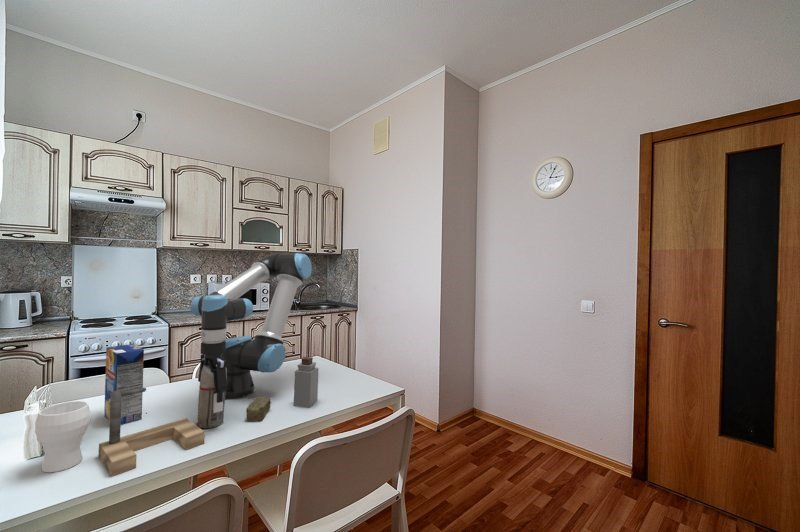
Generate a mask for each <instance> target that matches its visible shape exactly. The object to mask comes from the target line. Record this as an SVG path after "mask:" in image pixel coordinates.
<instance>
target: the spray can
mask: <svg viewBox="0 0 800 532" xmlns="http://www.w3.org/2000/svg"><path fill="white" fill-rule="evenodd" d="M214 370H215V369H214ZM226 379H227V369H226ZM198 387H199V389H198V402H197V403H198V404H197V417H196V418H197V422H196V426H198V427H199V428H200V429H201V428H202V429H211V428H216V427H218V426H220V425H222V424H224V418H225V417H224V416H225V415H224V414H225V404H226V399H225V392H226V391H224V392H223V411H219V412H216V413H213V404H214V394H213V392H215V386H214V374H213V373H212V372H211V370H210V367H209V366H205V365H204V366H203V368H202V372H201V378H200V382H199V386H198Z"/></svg>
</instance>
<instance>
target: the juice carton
mask: <svg viewBox="0 0 800 532" xmlns="http://www.w3.org/2000/svg"><path fill="white" fill-rule="evenodd" d="M105 353H106V354H105V377H104V378H105V381H104V382H105V383H104V384H105V385H104V414H103V416H104V418H105V419H106V420H107V421H108V422H109V423H110V396H111V392H113V391H122V392H126V391H130V390H135V389H140V388H144V361H145V360H144V359H145V357H144V355H145V349H144V348H141V347H139V346H138V345H136V344H133V343H131V344H124V345H115V346H109V347H106V351H105ZM143 393H144V392H141V393H136V394H132V395H127V396H123V397H121V426H123V425H127V424H129V423H134V422H137V421H140V420H142V419H143V395H144V394H143Z"/></svg>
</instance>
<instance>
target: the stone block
mask: <svg viewBox="0 0 800 532" xmlns="http://www.w3.org/2000/svg"><path fill="white" fill-rule="evenodd" d="M270 409H271V397H267V396H264V397H263V396H261V397H260V396H256V397H255V398H254V399H253V400H252V401H251V402H250V404H248V406H247V407H246V412H245V413H246V421H248V422H261V421H263V419H264V418H265V417H266V415H267V414H268V412H269V411H270Z"/></svg>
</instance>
